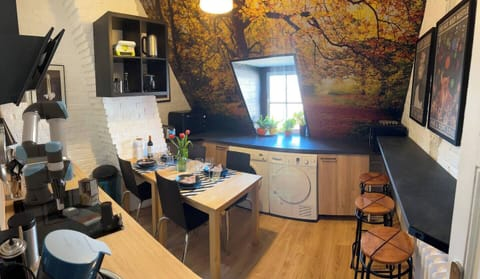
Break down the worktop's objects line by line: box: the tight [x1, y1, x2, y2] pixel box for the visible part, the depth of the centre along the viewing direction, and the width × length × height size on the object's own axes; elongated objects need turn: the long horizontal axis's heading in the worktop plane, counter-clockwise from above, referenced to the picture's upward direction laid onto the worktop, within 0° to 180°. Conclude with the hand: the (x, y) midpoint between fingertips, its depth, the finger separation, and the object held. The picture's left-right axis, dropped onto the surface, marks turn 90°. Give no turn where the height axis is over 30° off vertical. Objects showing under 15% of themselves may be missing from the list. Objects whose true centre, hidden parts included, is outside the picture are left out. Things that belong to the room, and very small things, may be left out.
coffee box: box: [77, 177, 101, 207], centre depth 182 cm, size 9×6×16 cm
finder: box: [61, 206, 79, 218], centre depth 167 cm, size 6×5×3 cm
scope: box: [98, 200, 124, 232], centre depth 151 cm, size 8×14×10 cm
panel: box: [61, 207, 101, 227], centre depth 165 cm, size 23×12×1 cm, turn 60°
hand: (60, 208), depth 171 cm, fingers closed
